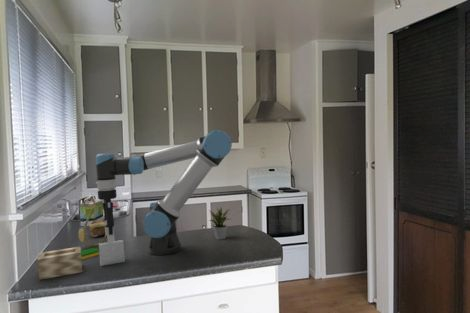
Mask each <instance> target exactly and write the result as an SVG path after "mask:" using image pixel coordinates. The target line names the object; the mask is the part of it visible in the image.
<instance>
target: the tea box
mask: <svg viewBox="0 0 470 313" xmlns="http://www.w3.org/2000/svg"><path fill="white" fill-rule="evenodd" d="M94 201H95V203H96V207H95V209H94V211H93V213H92V215H91V216H90V218H89V220H88V223H87V226H86V227H89V225H90V224H91V223H92V222H93V221H103V222H105V220H104V210H103V203H104V201H103V200H100V199H97V200H94ZM83 203H84V202H82V203H80V204H79V219H80V227H84V226H85V223H86V220H87V218H88V216H89V214H90V213H91V211H92V209H93V207H94V203H93V201H92V200H87V201H86V202H85V204H86V205H87V204H88V203H89V205H88V206H85V205H84V204H83Z"/></svg>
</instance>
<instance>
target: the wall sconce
mask: <svg viewBox="0 0 470 313" xmlns="http://www.w3.org/2000/svg"><path fill="white" fill-rule="evenodd" d="M88 201H93V203H94V207H93V209H92V211H91V213H90V214H89V216H88V218H87V220H86V223H85V226H83V228H79V229H78V238H79V239H78V240H79V241H80V242H81V243H86V244H87V245H88V246H92V247H96V246H97V247H98V246H99V243H105V242H106V239H107V235H105V234H104V238H103V240H101V241H100V242H98V243H90V242H89V241H88V239H87V236H88V234H87V232H86V229H87V227H89V228H90V227H96V228H94V229H93V230H92V231H91V233H90V234H91V237H93V238H96V236H98V235H93V231H94V230H96V229H98V231H97V232H98V233H100V231H101V230H99V229H100V228H103V229H104V231H105V227H103V226H105V221H103V222H100V223H94V224H90V225H89V226H87V223H88V220H89V218H90V216H91V215H92V213H93V211H94V209H95V207H96V203H95V201H96V200H95V199H94V198H92V197H88V198H86V199H84V200H83V202H82V203H83V204H84V205H85V206H88V205H89V203H88V204H87V205H86V204H85V202H88Z"/></svg>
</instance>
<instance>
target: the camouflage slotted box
mask: <svg viewBox="0 0 470 313" xmlns="http://www.w3.org/2000/svg"><path fill="white" fill-rule="evenodd" d="M81 251H82V248H81V245H80V246H75V247H70V248H63V249H62V248H61V249H55V250H49V251H43V252H39V253H38V257H37V270H38V280H39V281H41V280H46V279H51V278H56V277H62V276H67V275H74V274H80V273H82V272H83V263H82V261H83V260H82V259H81Z"/></svg>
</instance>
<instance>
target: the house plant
mask: <svg viewBox="0 0 470 313" xmlns="http://www.w3.org/2000/svg"><path fill="white" fill-rule="evenodd" d="M216 210H217V212H216V213H214V212H213V211H212V210H210V209H209V210H208V211H209V213H210V216H212V219H210V220H208V221H209V222H212V223H214V225H213V227H212V228H213V232H214V236H215V237H214V238H215V240H224V239H226V238H227V229H228V224H224V223H225V222H227V221H228V220H232V217H229V218H227V217H228V213H229V212H230V211H231V210H232V208H228V209H226V211H225V212H224V213H223V209H222V207H220V208H218V207H216ZM226 215H227V216H226Z"/></svg>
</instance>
